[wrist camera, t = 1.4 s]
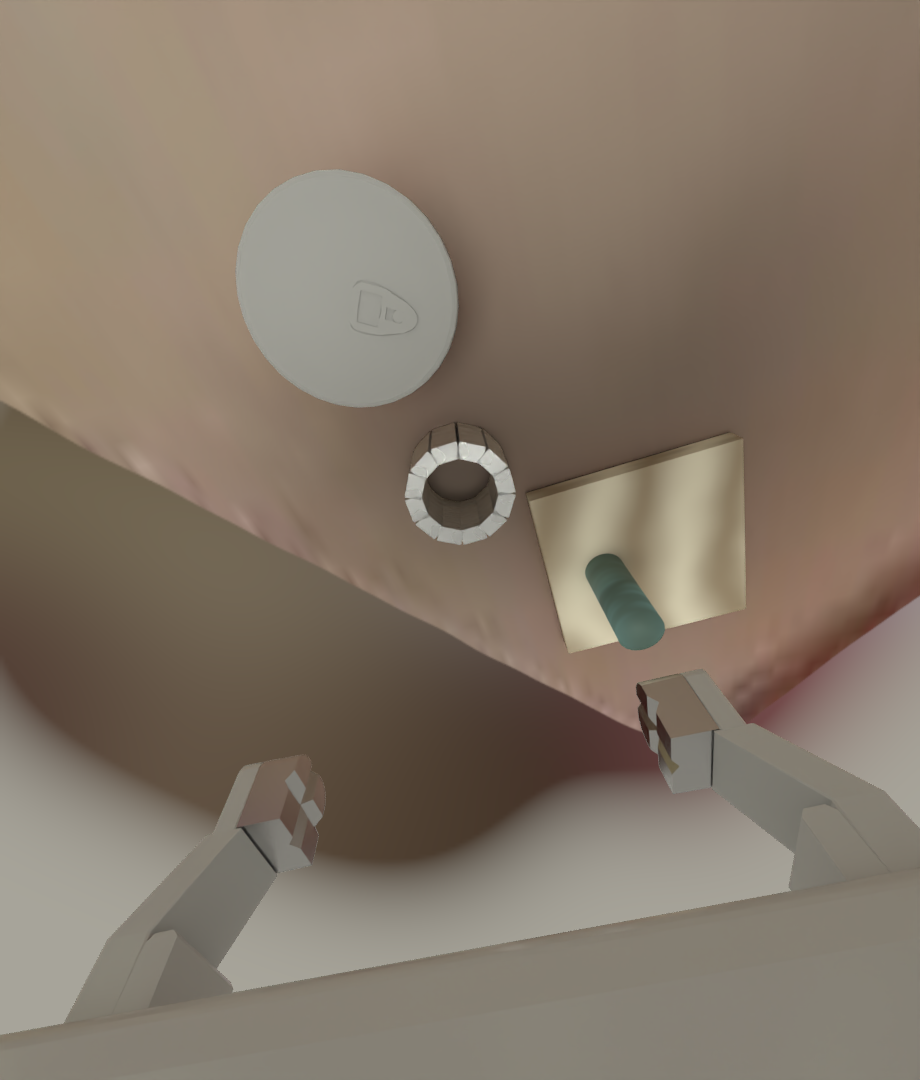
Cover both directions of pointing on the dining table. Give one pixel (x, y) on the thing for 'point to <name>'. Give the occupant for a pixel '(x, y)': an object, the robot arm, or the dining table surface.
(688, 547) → the green peg on board
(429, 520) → the grey segmented ring
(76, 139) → the dining table surface
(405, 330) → the canned food
